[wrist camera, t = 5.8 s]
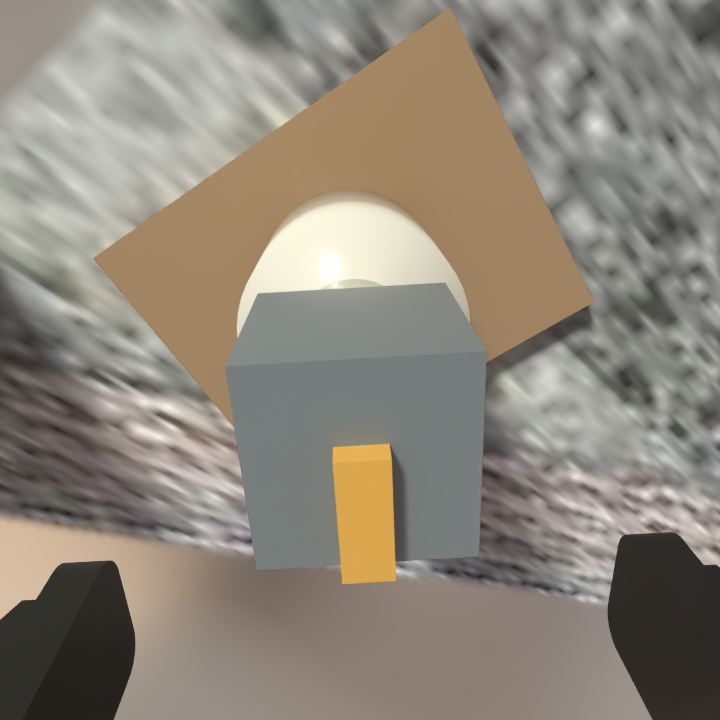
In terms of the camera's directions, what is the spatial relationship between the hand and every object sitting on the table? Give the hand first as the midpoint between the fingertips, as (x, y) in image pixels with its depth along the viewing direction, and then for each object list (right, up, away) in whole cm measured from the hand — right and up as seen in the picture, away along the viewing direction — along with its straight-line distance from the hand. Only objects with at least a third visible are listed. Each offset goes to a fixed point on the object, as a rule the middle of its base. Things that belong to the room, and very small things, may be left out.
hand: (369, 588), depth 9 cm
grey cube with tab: (0, +3, +8) cm, 8 cm away
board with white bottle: (-1, +8, +18) cm, 20 cm away
